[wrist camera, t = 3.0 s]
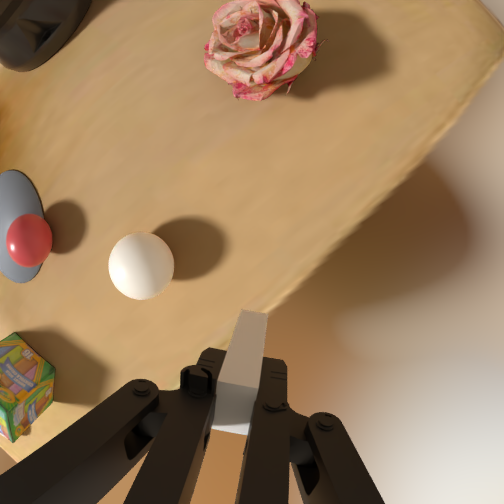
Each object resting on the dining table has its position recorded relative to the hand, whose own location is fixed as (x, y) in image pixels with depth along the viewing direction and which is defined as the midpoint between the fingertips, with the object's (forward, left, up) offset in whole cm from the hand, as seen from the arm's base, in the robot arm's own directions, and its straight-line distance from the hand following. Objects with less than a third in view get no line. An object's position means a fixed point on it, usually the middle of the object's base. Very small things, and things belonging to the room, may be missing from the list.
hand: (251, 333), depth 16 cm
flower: (-18, -3, -9) cm, 21 cm away
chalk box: (+21, -31, -9) cm, 38 cm away
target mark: (0, -31, -9) cm, 32 cm away
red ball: (0, -24, -6) cm, 25 cm away
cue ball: (0, -10, -6) cm, 12 cm away
